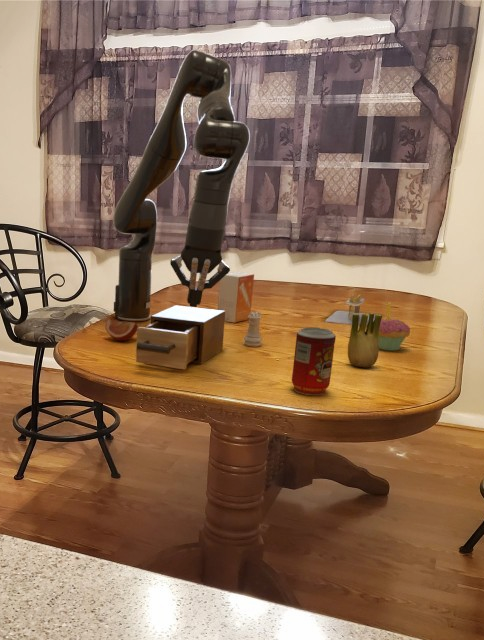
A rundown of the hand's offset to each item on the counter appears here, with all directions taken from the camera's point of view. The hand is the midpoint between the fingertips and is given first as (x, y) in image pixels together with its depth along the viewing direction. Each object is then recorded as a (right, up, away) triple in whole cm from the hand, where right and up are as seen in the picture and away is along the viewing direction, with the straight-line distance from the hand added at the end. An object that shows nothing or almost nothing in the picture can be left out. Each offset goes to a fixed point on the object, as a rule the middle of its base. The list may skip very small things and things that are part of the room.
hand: (192, 305), depth 147 cm
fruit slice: (-13, -6, +27) cm, 30 cm away
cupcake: (+51, -8, +19) cm, 55 cm away
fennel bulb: (+38, -13, +5) cm, 40 cm away
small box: (+21, +2, +50) cm, 54 cm away
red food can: (+21, -18, -12) cm, 30 cm away
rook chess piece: (+19, -7, +22) cm, 30 cm away
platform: (+56, +2, +52) cm, 77 cm away
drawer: (-5, -12, +5) cm, 13 cm away
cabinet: (+1, -10, +14) cm, 17 cm away
